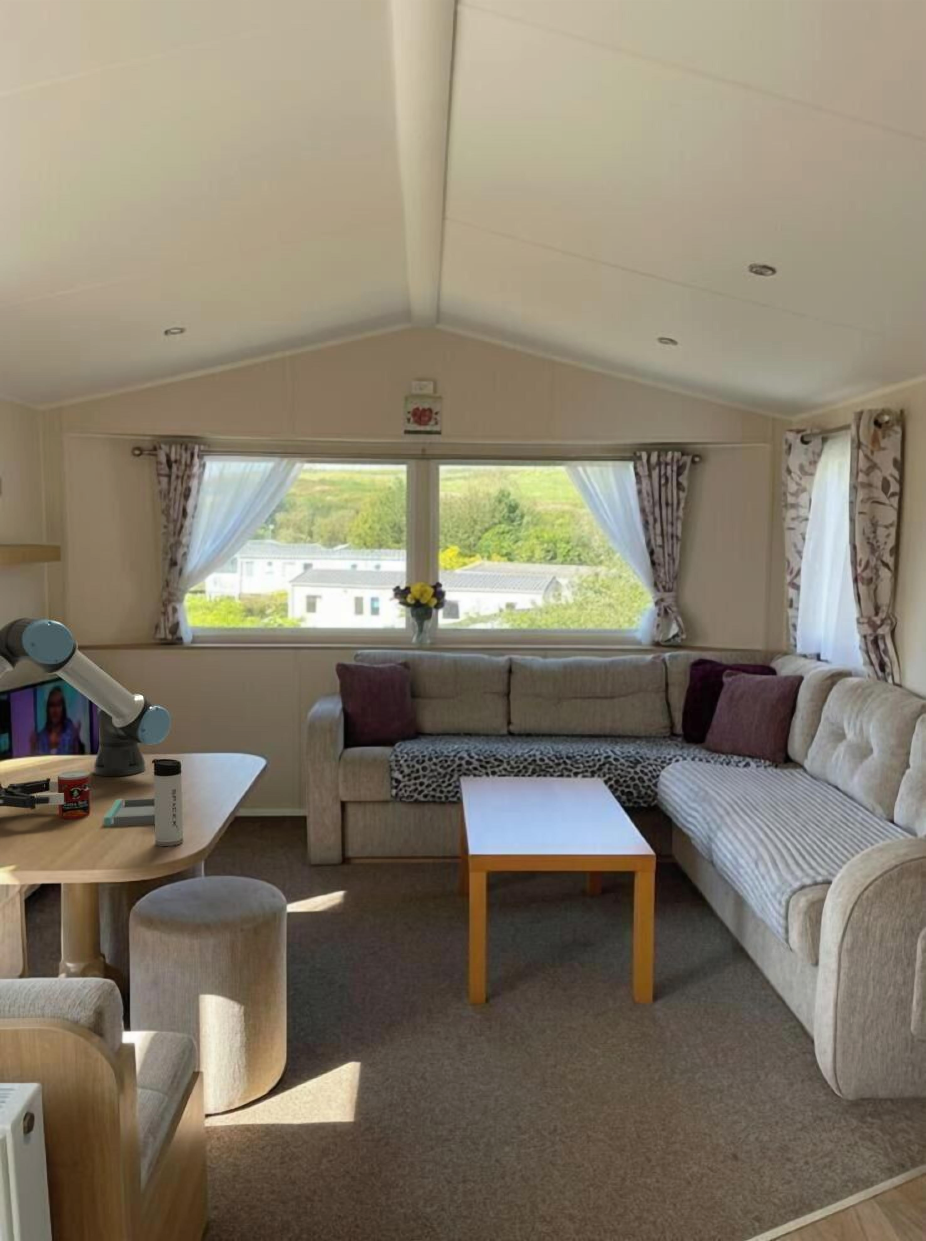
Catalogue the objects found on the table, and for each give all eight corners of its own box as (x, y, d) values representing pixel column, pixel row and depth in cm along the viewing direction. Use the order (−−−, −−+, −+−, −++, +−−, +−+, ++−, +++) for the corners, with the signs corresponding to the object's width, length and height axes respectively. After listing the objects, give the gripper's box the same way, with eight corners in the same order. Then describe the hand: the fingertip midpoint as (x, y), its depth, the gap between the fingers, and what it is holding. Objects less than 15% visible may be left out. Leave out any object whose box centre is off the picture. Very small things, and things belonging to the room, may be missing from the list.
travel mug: (157, 839, 230) (155, 756, 228) (185, 838, 230) (183, 756, 229) (151, 847, 224) (149, 762, 222) (180, 846, 224) (178, 762, 223)
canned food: (60, 821, 245) (59, 778, 244) (57, 813, 252) (56, 772, 252) (92, 817, 249) (91, 775, 248) (88, 809, 256) (87, 769, 255)
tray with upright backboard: (117, 807, 258) (116, 770, 257) (174, 804, 261) (174, 768, 260) (104, 826, 240) (103, 787, 240) (166, 823, 243) (165, 784, 242)
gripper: (-3, 797, 258) (80, 794, 262) (-34, 824, 234) (58, 819, 238) (-4, 770, 258) (79, 767, 261) (-35, 793, 233) (57, 789, 237)
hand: (70, 792), depth 250 cm, fingers open, 13 cm apart
